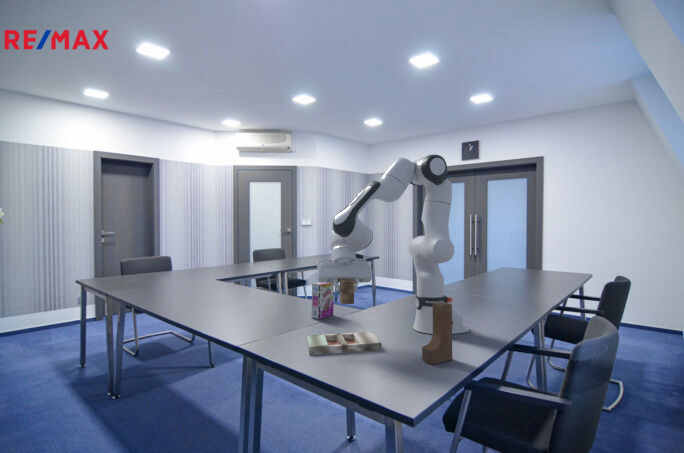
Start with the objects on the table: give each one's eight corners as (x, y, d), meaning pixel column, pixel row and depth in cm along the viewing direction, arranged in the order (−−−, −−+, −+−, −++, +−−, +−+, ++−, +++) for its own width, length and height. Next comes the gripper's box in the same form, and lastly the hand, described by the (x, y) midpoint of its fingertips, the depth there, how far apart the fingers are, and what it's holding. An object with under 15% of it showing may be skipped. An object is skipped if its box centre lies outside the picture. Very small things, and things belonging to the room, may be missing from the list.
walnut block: (351, 301, 126) (351, 279, 126) (353, 304, 122) (354, 281, 122) (339, 301, 125) (339, 279, 126) (341, 304, 121) (342, 281, 121)
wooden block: (431, 365, 106) (431, 307, 106) (421, 360, 110) (421, 304, 110) (452, 360, 110) (452, 304, 110) (442, 355, 114) (442, 301, 114)
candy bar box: (319, 320, 158) (319, 284, 158) (311, 318, 161) (311, 283, 161) (334, 315, 167) (334, 281, 167) (326, 313, 170) (326, 280, 170)
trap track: (372, 338, 132) (371, 331, 132) (381, 350, 119) (381, 342, 119) (306, 342, 128) (306, 335, 128) (309, 355, 115) (309, 347, 115)
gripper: (316, 255, 129) (319, 285, 119) (369, 255, 132) (376, 285, 123) (315, 265, 133) (317, 295, 123) (366, 266, 137) (372, 295, 127)
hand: (347, 290), depth 123 cm, fingers closed on walnut block, 4 cm apart
